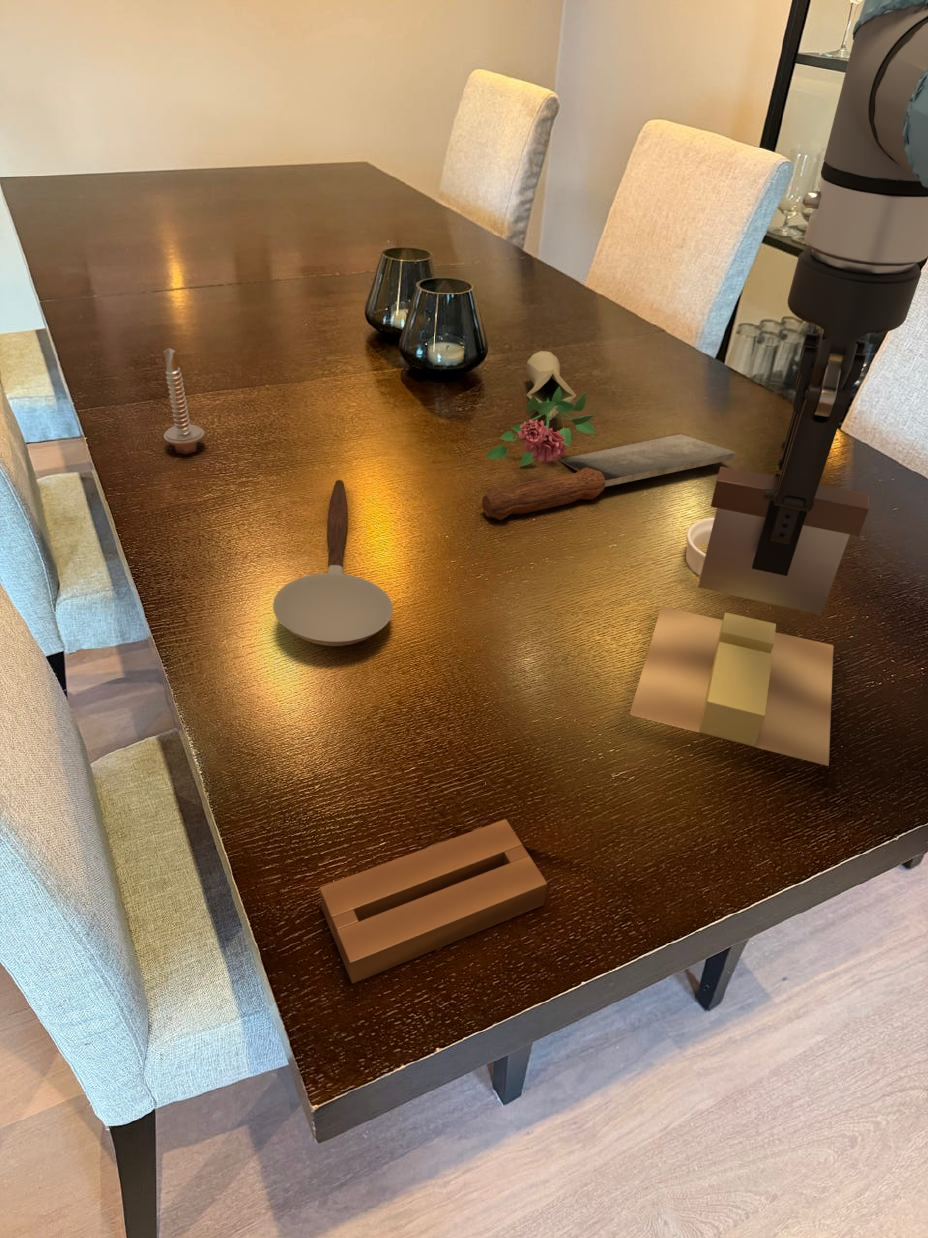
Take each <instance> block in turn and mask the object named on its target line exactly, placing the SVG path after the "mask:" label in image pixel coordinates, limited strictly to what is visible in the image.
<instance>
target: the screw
mask: <svg viewBox="0 0 928 1238" xmlns="http://www.w3.org/2000/svg"><path fill="white" fill-rule="evenodd" d="M163 356H164V362H165V369H166V371H165V374H166V376H165V379H166V380H167V381H166V384H168V385H167V388H168V389H169V390H168V393H169V396H168V398H170V400H169V402H170V403H171V404H170V407H171V408H172V409H171V412H173V413H172V416H173V422H174V423H173V426H171V427H169V428H168V429H167V430H166V431H165V432H164V433H163V440H164V442H165V443H167V444H169V445H171V446H174V449H175V453H178V454H181V455H189V454H193V453H196V452H197V449H198V443H199V442H201V441H202V440H204V438H205V436H206V433H205V431H204V429H203V428H201V427H200V426H198V425H195V424H191V423H190V418H189V417H190V414H188V413H189V410H188V405H187V400H186V399H187V397H186V396H185V394H186V392H185V387H184V382H183V376H182V372H181V367H179V364H178V359H177V352H176V350H175V349H173V348H169V347H168V348H166V349H165V350H163Z"/></svg>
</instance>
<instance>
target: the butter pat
mask: <svg viewBox="0 0 928 1238" xmlns="http://www.w3.org/2000/svg"><path fill="white" fill-rule="evenodd" d="M722 620H723V622H722V625H721V629H720V633H719V636H718V640H717V644H716V649H715V654H714V659H715V655H716V651H717V648H718V644H719V642H723V643H727V644H732V645H736V646H740V647H745V648H749V649H753V650H757V651H762V652H766V653H770V654H771V652H772V648H773V645H774V639H775V632H777V631H776V630H777V623H774V622H770V621H765V620H760V619H756V618H751V617H748V616H743V615H738V614H734V613H729V612H724V614H723V618H722ZM714 659H713V662H714Z"/></svg>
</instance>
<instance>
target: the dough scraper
mask: <svg viewBox="0 0 928 1238" xmlns="http://www.w3.org/2000/svg"><path fill="white" fill-rule="evenodd" d="M779 478H780V477H775V475H770V474H765V473H758V472H753V471H748V470H743V469H738V468H732V467H726V466H720V467H719V470H718V474H717V477H716V482H715V485H714V490H713V494H712V497H711V498H712V499H711V503H710V507H711V508H714V509H715V510H716V511H715V515H714V518H715V519H714V523H713V527H712V531H711V535H710V539H709V543H708V545H707V548H706V552H705V554H706V556H705V560H704V564H703V568H702V572H701V576H699V581H698V585H697V588H698V589H703V590H706V591H711V592H715V593H720V594H725V595H730V596H734V597H738V598H743V599H747V600H751V601H756V602H760V603H766V604H770V605H774V606H779V607H784V608H788V609H793V610H797V611H801V612H807V613H810V614H815V615H820V616H822V614H823V612H824V609H825V606H826V603H827V601H828V597H829V595H830V592H831V590H832V586H833V584H834V581H835V578H836V575H837V572H838V569H839V567H840V565H841V561H842V558H843V556H844V553H845V550H846V547H847V545H848V542H849V538H850V536H851V535H852V536H856V537H860V535H861V532H862V529H863V527H864V525H865V521H866V518H867V515H868V513H869V510H870V504H869V502H870V499H869V493H866V492H861V491H854V490H849V489H844V488H838V487H834V486H828V485H823V484H819V486H818V489H817V492H816V495H815V498H814V501H815V502H814V506H813V508H811V511H810V512H807V514H806V518H805V521H804V524H803V527H802V530H801V533H800V537H799V540H798V543H797V546H796V549H795V552H794V556H793V559H792V562H791V565H790V568H789V571H788V575H787V576H784V575H779V574H774V573H770V572H765V571H760V570H756V569H752V564H753V560H754V557H755V553H756V550H757V546H758V543H759V539H760V536H761V532H762V529H763V525H764V522H765V518H766V515H767V511H768V508H769V504H770V500H765V499H763V498H764V493H765V489H766V488H768V489H773V490H775V489H776V488H777V486H778V482H779Z"/></svg>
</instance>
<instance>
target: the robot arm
mask: <svg viewBox="0 0 928 1238" xmlns="http://www.w3.org/2000/svg"><path fill="white" fill-rule="evenodd" d="M851 35H852V40H853V42H852V45H851V50H850V53H849V57H848V62H847V65H846V70H845V73H844V78H843V82H842V86H841V89H840V93H839V97H838V100H837V101H838V102H837V106H836V110H835V113H834V118H833V121H832V125H831V130H830V132H829V133H830V134H829V138H828V141H827V145H826V150H825V153H824V157H823V160H824V161H823V163H822V167H821V170H820V177H819V181H818V184H817V185H818V189H819V190H812V191H806V192H805V194H804V196H803V198H802V202H801V203H802V205H803V207H805V208H807V209H813V210H812V211H811V213H810V214H809V217H808V218H809V219H808V222H807V226H806V230H805V234H804V238H803V239H804V241H805V243H806V244H807V245H808V247H807V248H805V249H804V250H803V251H802V252H800V253H799V254H798V258H797V261H796V264H795V268H794V269H795V270H794V273H793V277H792V280H791V281H792V282H791V284H790V289H789V291H788V297H787V307H788V309H789V310H790V312H791V313H792V314H793V315H794V316H795V317H796V318H798V319H800V320H802V321H803V322H805V323H808V324H814V327H813V328H812V332H811V333H810V332H806V333H805V336H804V338H803V342H802V346H801V349H800V360H799V366H798V373H797V377H796V381H795V387H794V391H795V393H794V395H793V396H794V397H793V402H792V412H791V415H790V420H789V424H788V426H787V431H786V434H785V438H784V440H783V441H782V442H781V446H780V448H781V453H782V454H781V457H780V458H779V459H778V461H777V467H778V471H780V473H777V472H776V473H775V474H774V476H775V477H780V478H779V482H778V486H777V488H776V489H775V490H773V489H768V488H766V489H765V493H764V498H763V499H765V500H770V504H769V508H768V511H767V515H766V518H765V522H764V525H763V529H762V532H761V536H760V539H759V543H758V546H757V550H756V553H755V557H754V560H753V564H752V569H756V570H760V571H765V572H770V573H774V574H779V575H784V576H787V575H788V571H789V568H790V565H791V562H792V559H793V556H794V552H795V549H796V546H797V543H798V540H799V537H800V533H801V530H802V527H803V524H804V521H805V518H806V514H807V512H810V511H811V508H813V506H814V502H815V501H814V498H815V495H816V492H817V489H818V486H819V485H820V482H821V479H822V475H823V474H824V469H825V467H826V464H827V461H828V458H829V455H830V452H831V450H832V446H833V444H834V441H835V438H836V434H837V432H838V428H839V425H840V423H841V420H842V418H843V417H844V416H845V414H846V410H847V407H848V405H850V403H851V393H852V390H853V388H854V385H855V383H857V382H858V381H859V379H860V377H861V375H862V371H863V368H864V365H865V361H866V355H867V354H864V351H865V347H866V340H860V338H861V337H862V336H865V335H869V334H872V333H874V334H875V333H876V334H884V333H888V332H891V331H894V330H896V329H898V328H899V327H901V326H902V325H903V324H904V323H905V321H906V320H907V317H908V314H909V311H910V308H911V306H912V302H913V300H914V296H915V294H916V291H917V288H918V286H919V281H920V280H921V276H922V271H921V269H920V266H919V264H918V263H920V262H922V261H925V259H927V258H928V0H864V2H863V5H862V8H861V11H860V15H859V17H858V19H857V21H856V22H855V24H854V27H853V29H852V34H851Z"/></svg>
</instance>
